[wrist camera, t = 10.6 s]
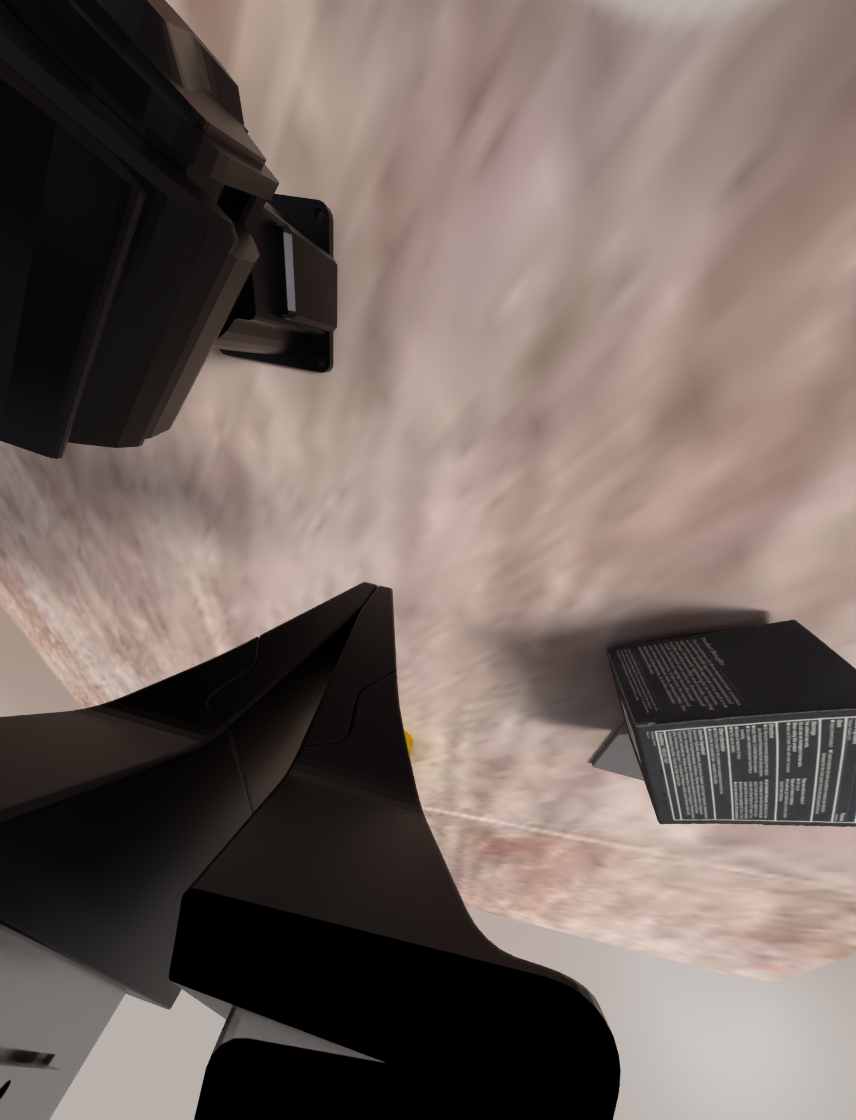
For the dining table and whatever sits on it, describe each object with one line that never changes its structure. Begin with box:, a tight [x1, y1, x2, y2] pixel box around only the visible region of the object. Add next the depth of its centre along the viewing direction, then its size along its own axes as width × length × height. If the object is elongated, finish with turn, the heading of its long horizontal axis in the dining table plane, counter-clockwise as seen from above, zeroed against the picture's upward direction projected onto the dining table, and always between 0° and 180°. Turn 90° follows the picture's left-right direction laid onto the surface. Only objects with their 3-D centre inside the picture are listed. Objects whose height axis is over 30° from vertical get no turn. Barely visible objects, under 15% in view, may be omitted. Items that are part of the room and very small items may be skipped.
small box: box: [606, 620, 856, 827], centre depth 20 cm, size 11×6×10 cm
